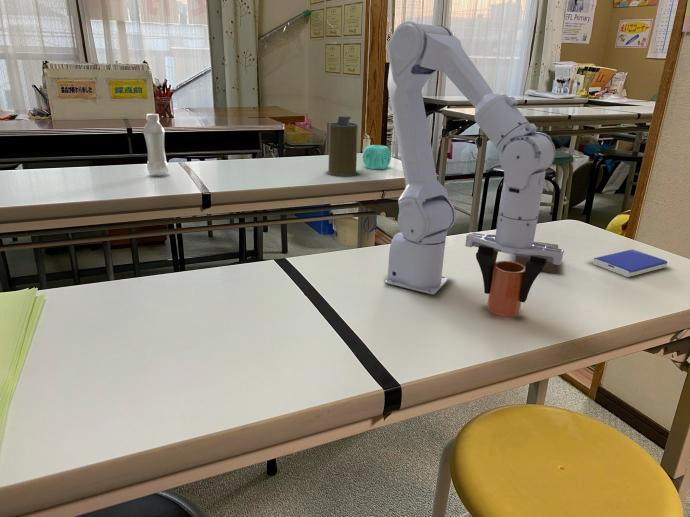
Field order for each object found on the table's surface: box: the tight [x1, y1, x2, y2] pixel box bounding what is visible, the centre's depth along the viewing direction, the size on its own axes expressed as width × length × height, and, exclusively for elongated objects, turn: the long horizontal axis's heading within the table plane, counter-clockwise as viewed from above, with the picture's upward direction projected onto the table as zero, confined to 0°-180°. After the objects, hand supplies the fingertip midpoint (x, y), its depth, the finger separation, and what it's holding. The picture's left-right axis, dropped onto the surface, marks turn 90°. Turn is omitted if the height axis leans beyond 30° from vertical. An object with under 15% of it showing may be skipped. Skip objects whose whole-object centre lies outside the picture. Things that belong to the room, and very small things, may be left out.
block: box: [514, 241, 559, 274], centre depth 106 cm, size 8×8×4 cm
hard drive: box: [592, 248, 668, 278], centre depth 106 cm, size 2×8×12 cm
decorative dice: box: [362, 144, 392, 170], centre depth 197 cm, size 8×8×8 cm
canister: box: [326, 115, 359, 177], centre depth 182 cm, size 11×10×20 cm
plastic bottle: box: [142, 113, 169, 177], centre depth 170 cm, size 6×7×20 cm
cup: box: [486, 260, 526, 317], centre depth 83 cm, size 5×5×8 cm
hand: (505, 295), depth 83 cm, fingers closed on cup, 5 cm apart
